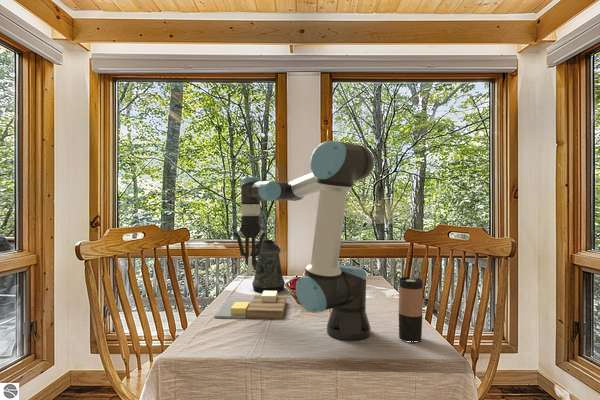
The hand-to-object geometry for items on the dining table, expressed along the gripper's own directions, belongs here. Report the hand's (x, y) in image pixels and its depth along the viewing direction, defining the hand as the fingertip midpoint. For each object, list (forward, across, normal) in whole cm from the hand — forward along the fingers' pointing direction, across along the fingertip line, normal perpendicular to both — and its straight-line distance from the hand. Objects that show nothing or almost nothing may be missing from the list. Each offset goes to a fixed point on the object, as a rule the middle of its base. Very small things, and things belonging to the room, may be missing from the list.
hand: (250, 273), depth 153 cm
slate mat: (+16, +6, -4) cm, 18 cm away
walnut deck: (+16, -7, -4) cm, 18 cm away
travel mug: (+17, -57, +28) cm, 65 cm away
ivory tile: (+13, -7, -10) cm, 18 cm away
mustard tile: (+15, +4, +1) cm, 16 cm away
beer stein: (+16, -3, -39) cm, 42 cm away
